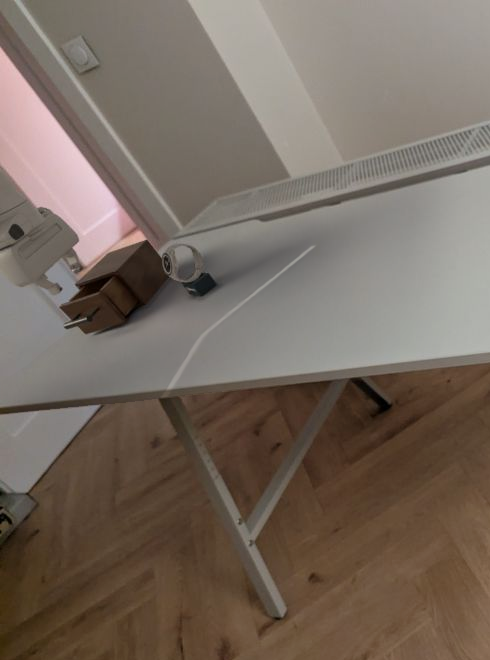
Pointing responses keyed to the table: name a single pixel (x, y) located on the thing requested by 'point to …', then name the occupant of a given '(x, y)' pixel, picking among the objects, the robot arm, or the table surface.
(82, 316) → the drawer
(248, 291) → the table surface
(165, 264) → the watch
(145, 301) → the cabinet
